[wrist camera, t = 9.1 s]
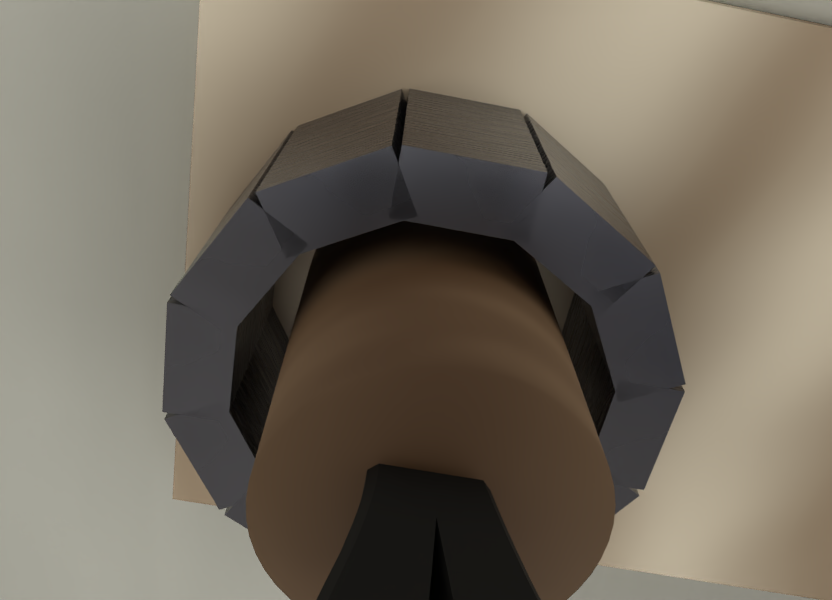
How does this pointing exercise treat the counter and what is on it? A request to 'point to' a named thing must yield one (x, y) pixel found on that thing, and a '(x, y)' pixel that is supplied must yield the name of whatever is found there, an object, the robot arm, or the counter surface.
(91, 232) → the counter surface
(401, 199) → the sleeve
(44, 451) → the counter surface
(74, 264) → the counter surface
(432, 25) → the board
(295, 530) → the plug
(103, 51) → the counter surface
